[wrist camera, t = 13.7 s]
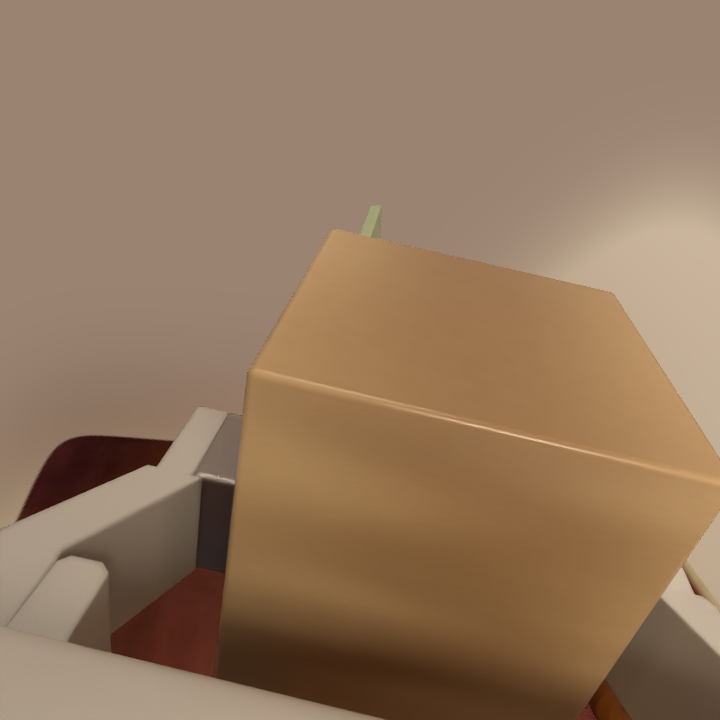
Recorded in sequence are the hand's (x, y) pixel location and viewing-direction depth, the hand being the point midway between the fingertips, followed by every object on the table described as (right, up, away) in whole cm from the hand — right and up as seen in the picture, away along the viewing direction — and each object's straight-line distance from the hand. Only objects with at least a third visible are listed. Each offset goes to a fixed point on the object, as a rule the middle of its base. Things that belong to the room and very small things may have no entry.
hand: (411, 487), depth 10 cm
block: (-1, -4, +1) cm, 4 cm away
